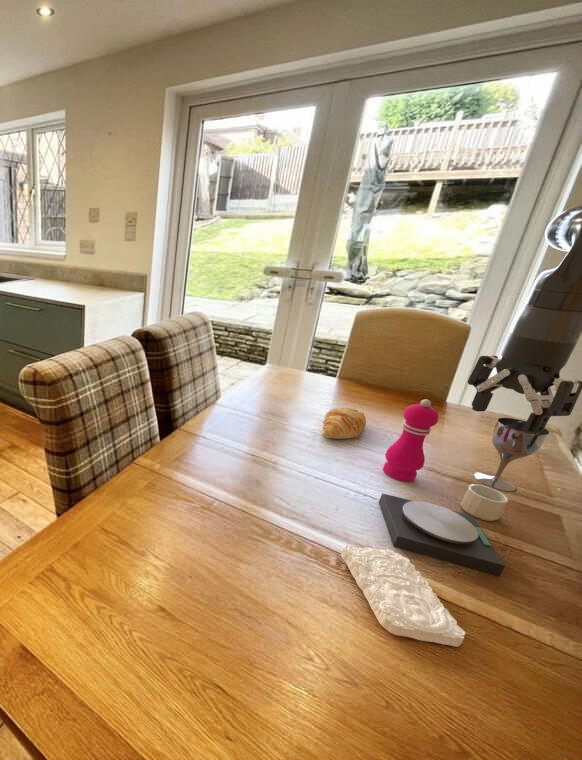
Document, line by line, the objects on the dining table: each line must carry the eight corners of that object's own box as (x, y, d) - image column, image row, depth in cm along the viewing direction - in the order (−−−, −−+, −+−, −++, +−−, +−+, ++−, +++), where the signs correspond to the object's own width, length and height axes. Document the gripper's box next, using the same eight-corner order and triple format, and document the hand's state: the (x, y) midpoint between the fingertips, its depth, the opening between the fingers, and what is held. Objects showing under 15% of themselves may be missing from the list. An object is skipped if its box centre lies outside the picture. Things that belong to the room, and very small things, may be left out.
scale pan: (464, 513, 78) (465, 511, 78) (488, 552, 69) (489, 549, 69) (396, 497, 82) (397, 494, 82) (410, 531, 73) (411, 529, 73)
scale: (467, 524, 80) (473, 513, 79) (499, 576, 68) (506, 564, 67) (378, 502, 86) (382, 491, 85) (393, 546, 74) (398, 534, 73)
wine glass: (516, 496, 88) (548, 438, 82) (469, 479, 94) (495, 424, 88) (520, 483, 93) (550, 427, 87) (474, 467, 99) (500, 414, 93)
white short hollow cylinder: (490, 508, 85) (500, 489, 83) (503, 525, 80) (514, 505, 78) (455, 499, 87) (464, 481, 85) (465, 516, 82) (475, 497, 80)
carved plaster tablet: (401, 561, 71) (407, 548, 70) (466, 650, 56) (475, 634, 55) (336, 552, 72) (341, 539, 71) (383, 636, 58) (390, 621, 57)
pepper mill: (388, 480, 93) (417, 404, 86) (374, 463, 100) (400, 391, 92) (424, 485, 92) (456, 408, 84) (407, 467, 98) (436, 394, 91)
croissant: (330, 455, 109) (352, 439, 103) (302, 427, 114) (321, 410, 108) (365, 433, 120) (386, 417, 114) (338, 408, 125) (357, 392, 119)
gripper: (622, 347, 59) (569, 441, 65) (516, 323, 72) (480, 403, 78) (577, 347, 58) (528, 442, 64) (478, 324, 71) (445, 404, 77)
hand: (502, 421), depth 71 cm, fingers open, 8 cm apart
